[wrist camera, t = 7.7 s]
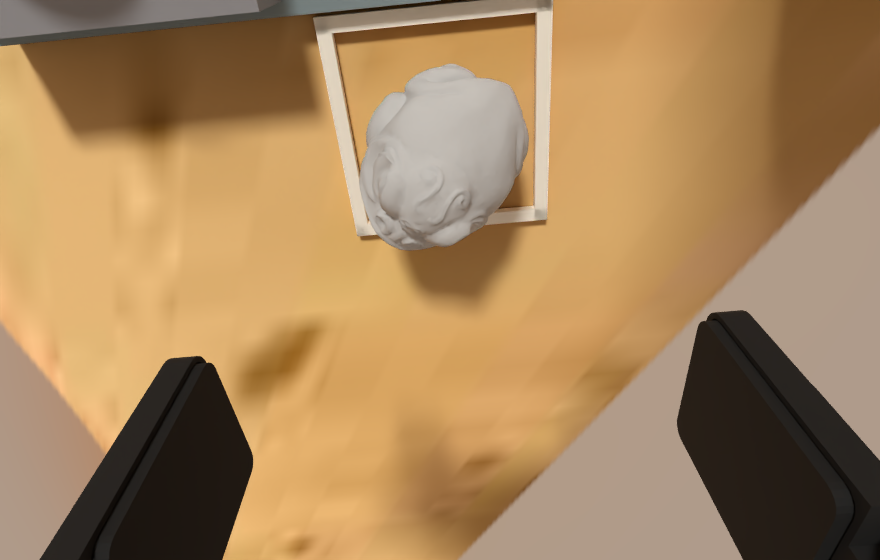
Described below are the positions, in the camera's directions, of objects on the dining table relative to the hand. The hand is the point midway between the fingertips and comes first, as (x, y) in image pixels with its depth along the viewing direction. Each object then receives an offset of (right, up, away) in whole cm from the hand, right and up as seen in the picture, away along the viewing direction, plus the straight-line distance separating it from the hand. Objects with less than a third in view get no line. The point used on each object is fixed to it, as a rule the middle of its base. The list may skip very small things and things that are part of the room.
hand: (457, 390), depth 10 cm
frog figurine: (0, +9, +13) cm, 16 cm away
